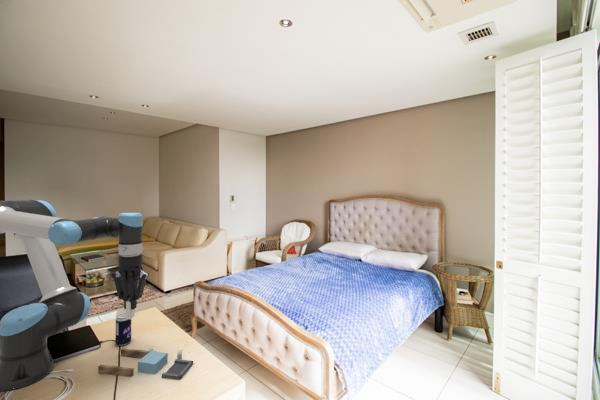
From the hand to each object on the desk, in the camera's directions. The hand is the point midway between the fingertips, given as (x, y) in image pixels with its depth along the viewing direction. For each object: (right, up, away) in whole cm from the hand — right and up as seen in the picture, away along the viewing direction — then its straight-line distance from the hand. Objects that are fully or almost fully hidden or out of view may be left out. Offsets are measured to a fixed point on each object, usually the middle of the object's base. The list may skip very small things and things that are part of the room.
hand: (130, 317), depth 103 cm
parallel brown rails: (-2, -18, +1) cm, 18 cm away
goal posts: (+10, -19, +7) cm, 22 cm away
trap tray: (+18, -19, -1) cm, 26 cm away
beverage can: (-12, -18, +15) cm, 27 cm away
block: (+8, -19, 0) cm, 21 cm away
